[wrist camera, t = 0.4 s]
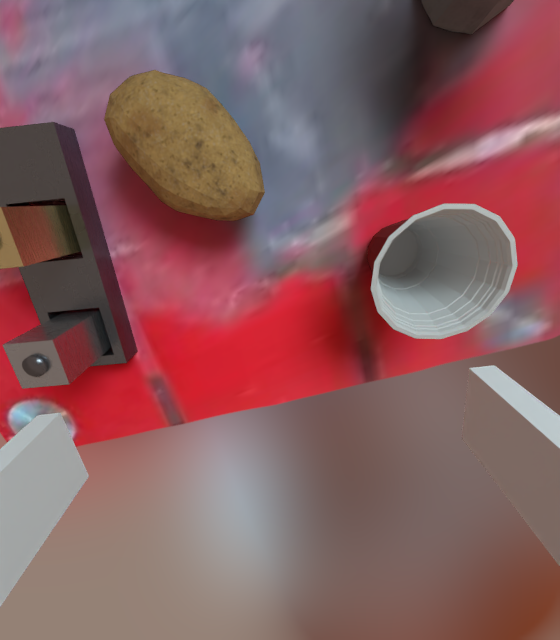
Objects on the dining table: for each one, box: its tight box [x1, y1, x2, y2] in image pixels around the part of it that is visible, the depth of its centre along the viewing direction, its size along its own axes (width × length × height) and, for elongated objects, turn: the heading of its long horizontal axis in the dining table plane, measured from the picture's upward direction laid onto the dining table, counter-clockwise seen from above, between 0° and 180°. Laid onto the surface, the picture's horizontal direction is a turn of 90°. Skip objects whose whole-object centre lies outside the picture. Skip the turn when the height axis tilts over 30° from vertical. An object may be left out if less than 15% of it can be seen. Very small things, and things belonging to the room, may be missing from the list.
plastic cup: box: [367, 204, 517, 339], centre depth 29 cm, size 11×11×12 cm
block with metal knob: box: [0, 205, 81, 269], centre depth 29 cm, size 4×4×10 cm
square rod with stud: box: [3, 308, 111, 388], centre depth 33 cm, size 4×4×10 cm
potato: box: [104, 70, 265, 221], centre depth 28 cm, size 10×14×8 cm
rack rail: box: [0, 122, 137, 366], centre depth 34 cm, size 24×8×3 cm, turn 6°
